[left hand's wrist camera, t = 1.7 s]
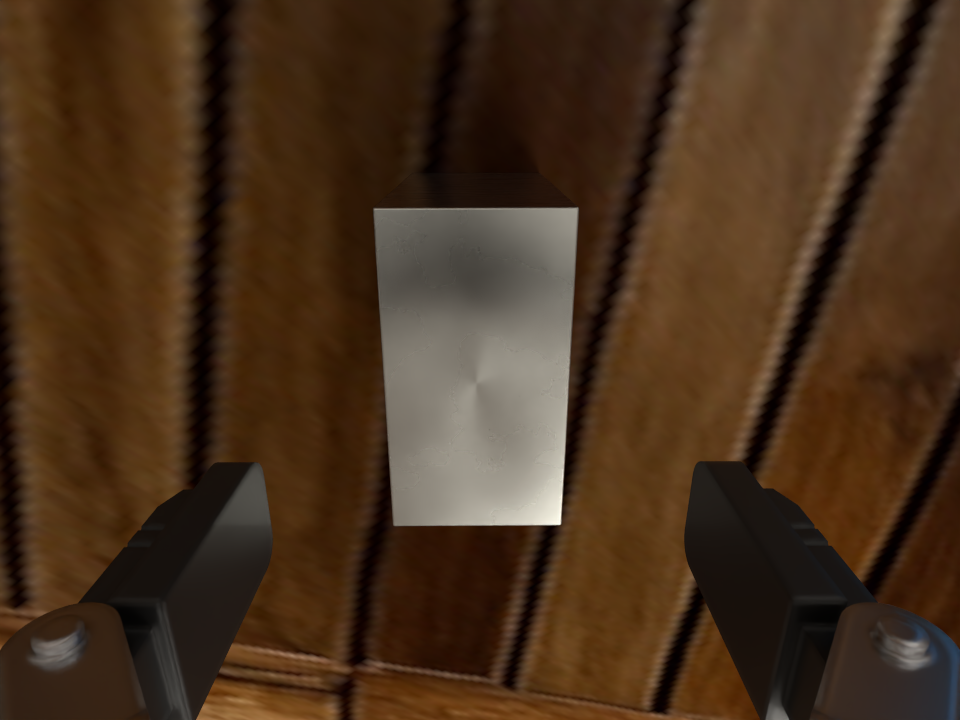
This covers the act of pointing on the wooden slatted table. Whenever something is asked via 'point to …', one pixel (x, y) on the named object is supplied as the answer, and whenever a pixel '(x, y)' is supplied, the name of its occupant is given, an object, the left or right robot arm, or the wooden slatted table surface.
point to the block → (476, 346)
